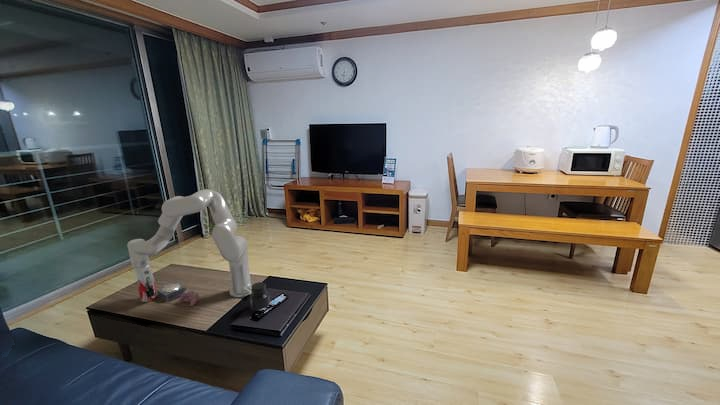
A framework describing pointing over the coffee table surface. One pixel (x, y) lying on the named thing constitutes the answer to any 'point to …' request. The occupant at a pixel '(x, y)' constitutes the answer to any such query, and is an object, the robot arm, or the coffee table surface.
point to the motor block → (171, 291)
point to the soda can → (143, 292)
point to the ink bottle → (259, 296)
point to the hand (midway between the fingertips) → (147, 293)
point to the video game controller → (187, 295)
